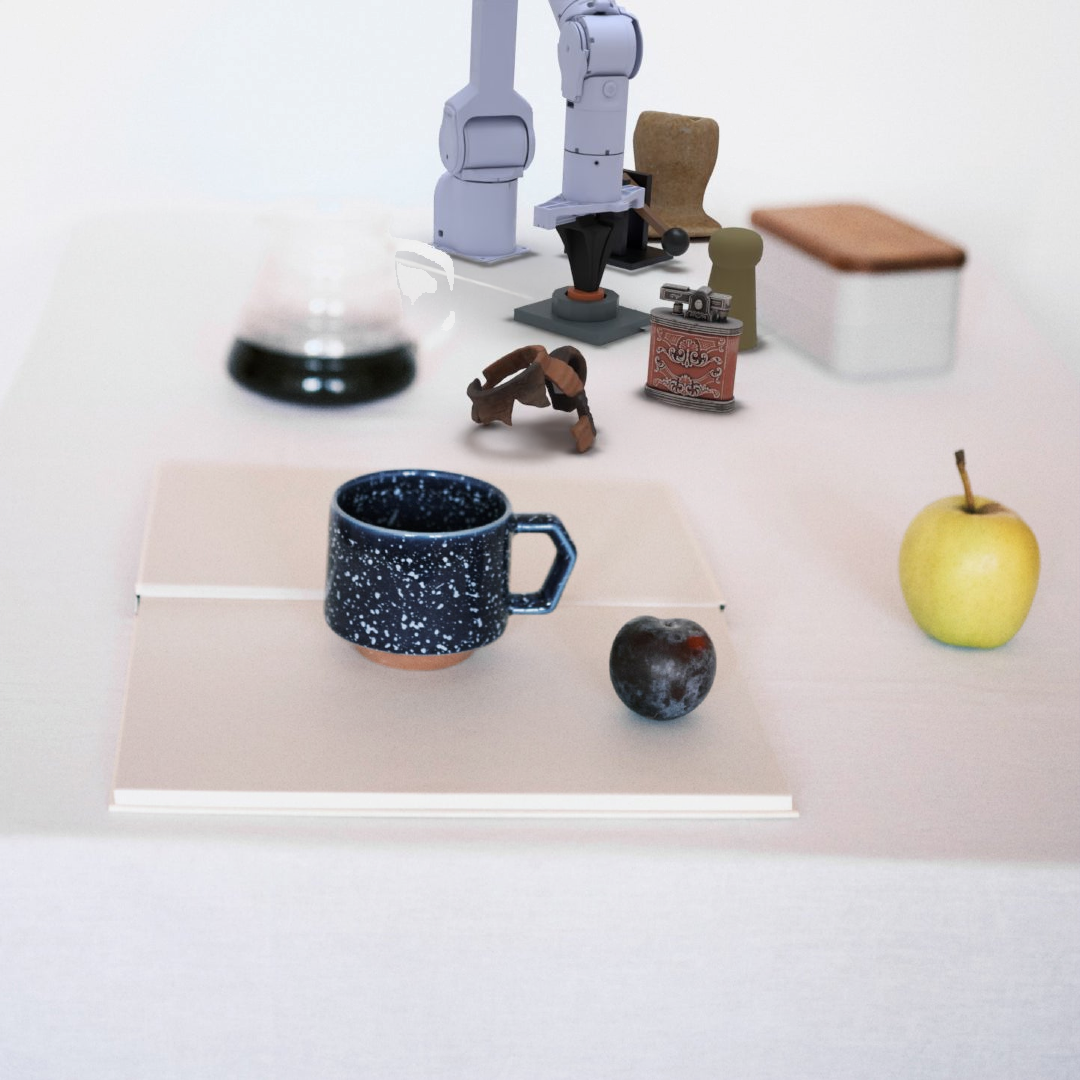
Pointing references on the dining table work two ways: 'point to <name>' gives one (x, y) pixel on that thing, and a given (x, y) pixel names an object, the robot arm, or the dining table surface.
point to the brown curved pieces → (535, 388)
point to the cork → (737, 276)
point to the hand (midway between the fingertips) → (586, 290)
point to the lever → (664, 230)
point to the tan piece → (677, 167)
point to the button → (585, 294)
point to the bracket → (635, 232)
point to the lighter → (693, 349)
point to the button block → (584, 317)
